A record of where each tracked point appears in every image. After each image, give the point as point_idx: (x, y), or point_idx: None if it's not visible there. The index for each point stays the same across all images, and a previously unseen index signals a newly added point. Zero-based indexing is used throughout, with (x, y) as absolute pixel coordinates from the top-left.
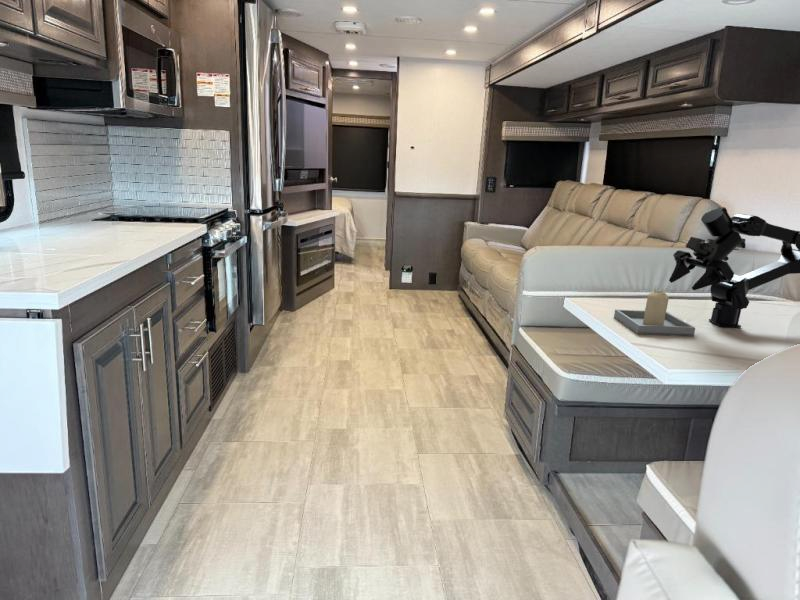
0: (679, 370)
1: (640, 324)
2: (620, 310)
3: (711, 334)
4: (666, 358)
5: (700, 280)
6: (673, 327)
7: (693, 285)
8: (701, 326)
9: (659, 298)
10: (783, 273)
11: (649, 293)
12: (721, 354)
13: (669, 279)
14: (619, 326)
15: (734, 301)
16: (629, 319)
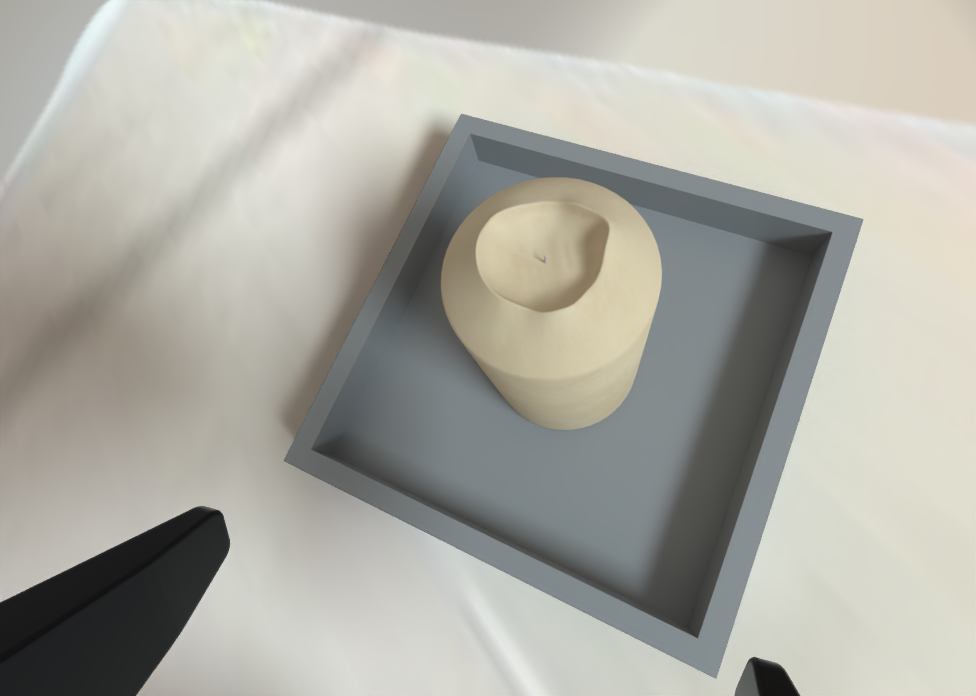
0: (106, 12)
1: None
2: (827, 245)
3: (287, 655)
4: (193, 49)
5: (6, 601)
6: (360, 314)
7: (181, 533)
8: None
9: (471, 212)
10: None
11: (634, 217)
12: (87, 335)
13: (783, 673)
14: (628, 147)
15: None
16: (594, 149)
